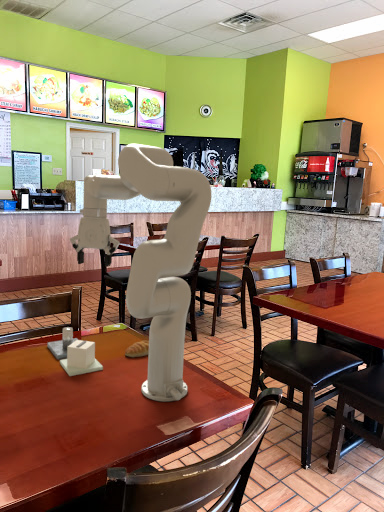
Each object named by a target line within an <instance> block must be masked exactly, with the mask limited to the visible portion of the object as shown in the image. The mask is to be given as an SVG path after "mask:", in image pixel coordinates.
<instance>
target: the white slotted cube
mask: <svg viewBox="0 0 384 512" xmlns="http://www.w3.org/2000/svg"><path fill="white" fill-rule="evenodd" d="M95 352H96V342H95V341H88V340H81V339H78V340H76V341H75V342H73V343H72V344H70V345H69V346H68V347H67V358H66V359H67V366H71V367H78V368H85V369H86V368H87V367H88V366H89V365H91V364H92V363H93V362H94V361H95V359H96V358H95V357H96V356H95V355H96V353H95Z"/></svg>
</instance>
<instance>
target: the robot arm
mask: <svg viewBox="0 0 384 512" xmlns="http://www.w3.org/2000/svg"><path fill="white" fill-rule="evenodd" d="M117 165H118V170H119V175H111V174H95V175H86V176H85V177H84V178H83V208H82V209H79V214H82V216H81V217H80V219H79V224H78V231H77V235H74V236H73V237H70V238H69V240H70V243H71V245H72V248H73V249H74V250H75V253H76V261H77V265H81V264H84V263H85V251H84V249H93V250H94V249H95V250H103V251H104V252H105V255H104V266H105V267H106V268H108V267H110V266H111V264H112V259H113V257H112V256H113V254H114V253H115V252H116V251H117V249H118V247H119V245H120V243H121V242H120V241H119V240H118V239H116V238H114V237H113V236H112V235H111V225H110V219H109V217H108V212H107V211H108V200H114V201H115V200H116V201H117V200H118V201H126V200H131V199H134V198H137V197H139V196H142V197H143V198H145V199H147V200H150V201H156V202H159V201H160V202H180V203H179V206H177V207H176V209H175V210H174V211H173V213H172V214H171V215H170V217H169V220H168V222H167V226H166V232H165V235H164V236H163V238H161V239H150V240H149V239H148V240H145V241H143V242H141V243H139V245H137V248H136V249H135V251H134V253H133V257H132V261H131V266H130V270H129V275H128V282H127V287H126V293H125V303H126V308H127V309H126V310H127V311H128V313H129V314H130V315H131V316H132V317H133V318H135V319H142V320H143V319H149V318H152V320H151V322H150V326H149V333H148V334H149V336H148V341H149V354H148V355H147V356H148V360H147V379H146V380H145V381H144V382H143V383H142V384H141V387H140V388H141V389H140V390H141V393H142V394H143V396H145V397H146V398H148V399H150V400H153V401H156V402H165V403H166V402H174V401H179V400H181V399H183V398H184V397H185V396H186V395H188V389H189V388H188V385H187V383H186V382H184V379H183V375H184V373H183V372H184V359H185V358H184V355H185V339H186V325H187V316H188V313H189V308H190V305H191V298H192V296H191V295H192V292H191V288H190V285H189V284H188V282H187V281H186V280H184V279H183V278H181V277H179V276H185V275H187V274H188V273H190V272H191V270H192V268H193V266H194V261H195V259H196V258H195V257H196V254H197V251H198V246H199V241H200V238H201V233H202V228H203V226H204V223H205V221H206V218H207V215H208V213H209V210H210V206H211V203H212V187H211V183H210V182H209V180H208V177H206V175H205V174H204V173H202V172H201V171H199V170H197V169H194V168H191V167H190V168H189V167H183V166H177V165H175V166H174V160H173V156H172V155H171V154H170V152H169V151H168V150H166V149H165V148H162V147H159V146H155V145H154V146H153V145H147V144H139V143H129V144H127V145H125V146H124V147H123V148H122V149H121V151H120V153H119V154H118V159H117ZM107 217H108V218H107ZM111 243H112V244H113V246H112V247H111Z"/></svg>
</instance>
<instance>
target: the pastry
mask: <svg viewBox="0 0 384 512" xmlns="http://www.w3.org/2000/svg"><path fill="white" fill-rule="evenodd" d="M124 351H125V352H124V356H126V357H130V358H137V357H139V358H140V357H143V356H148V354H149V340H141V341H137V342H134V343H133V344H132V345H130V346H128V347H127V348H126V349H125V350H124Z"/></svg>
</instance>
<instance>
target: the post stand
mask: <svg viewBox="0 0 384 512" xmlns="http://www.w3.org/2000/svg"><path fill="white" fill-rule="evenodd" d="M73 332H74V329H73V327H69V326H67V327H63V328H62V339H61V340H55V341H49V342H48V341H47V348H48V349H49V351H50V352H51V354H52V355H53V356H54V357H55V359H56V360H64V359H67V347H68V346H69V345H70V344H72V343H73V342H75V341H76V340H79V339H78V338H77V337H75V338H73V337H74V333H73Z"/></svg>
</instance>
